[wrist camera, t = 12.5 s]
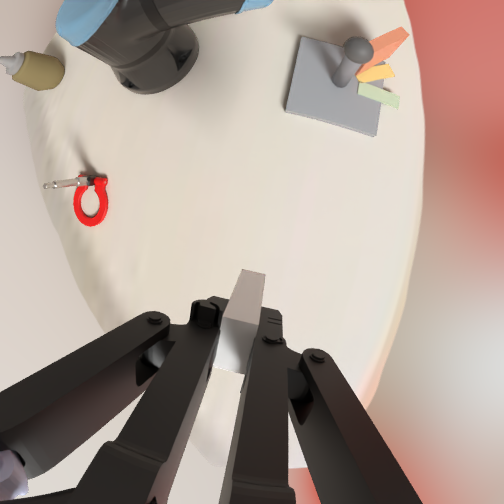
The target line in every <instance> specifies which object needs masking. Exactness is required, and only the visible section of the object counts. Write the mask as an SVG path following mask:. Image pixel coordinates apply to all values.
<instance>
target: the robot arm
mask: <svg viewBox="0 0 504 504" xmlns="http://www.w3.org/2000/svg"><path fill="white" fill-rule="evenodd" d="M272 2H273V0H64V2H63V4H62V6H61V7H60V9H59V12H58V15H57V18H56V30H57V33H58V34H59V35H60V36H61V37H62V38H64V39H65V40H67V41H68V42H69V43H70V44H71V45H72V46H75V47H77V48H79V49H81V50H83V51H85V52H87V53H88V54H90V55H92V56H94V57H96V58H97V59H99V60H101V61H103V62H105V63H106V64H108V65H110V66H111V68H112V70H113V72H114V74H115V76H116V78H117V79H118V81H119V82H120V83H121V84H122V85H123V86H124V87H125V88H127V89H129V90H130V91H132V92H134V93H138V94H154V93H158V92H161V91H164V90H166V89H168V88H170V87H172V86H173V85H175V84H176V83H178V82H179V81H180V80H181V79H182V78H183V77H184V76H186V74H187V73H188V72H189V71H190V70H191V68H192V67H193V65H194V63H195V61H196V59H197V56H198V51H199V44H198V40H197V37H196V36H195V34H194V32H193V31H192V29H191V28H190V27H189V26H188V25H186V24H190V23H193V22H197V21H201V20H205V19H209V18H214V17H218V16H223V15H228V14H233V13H235V14H240V13H242V12H243V11H248V10H253V9H259V8H264V7H266V6H268V5H270V4H271V3H272ZM264 283H265V274H261V273H257V272H252V271H248V270H244V269H242V271H241V273H240V276H239V278H238V280H237V283H236V285H235V288H234V290H233V292H232V295H231V297H230V300H228V299H224V298H220V297H216V296H212V297H210V298H208V299H207V300H196V301H194V302H193V303H192V306H191V313H190V320H189V322H188V323H187V324H185V325H177V324H170V318H169V317H168V316H167V315H165V314H163V313H160V312H157V311H150V312H145V313H142V314H141V315H139V316H137V317H135V318H133V319H132V320H130V321H128V322H126V323H124V324H123V325H121V326H119V327H117V328H115V329H114V330H112V331H110V332H108V333H106V334H104V335H103V336H101V337H100V338H97V339H95V340H94V341H92V342H90V343H88V344H86V345H85V346H83V347H81V348H79V349H77V350H76V351H74V352H72V353H70V354H69V355H67V356H65V357H63V358H61V359H60V360H58V361H56V362H54V363H52V364H50V365H48V366H47V367H45V368H43V369H41V370H40V371H38V372H36V373H34V374H33V375H30V376H29V377H27V378H25V379H23V380H22V381H20V382H18V383H16V384H14V385H12V386H11V387H9V388H7V389H5V390H3V391H1V392H0V504H167V500H168V496H169V493H170V490H171V487H172V484H173V481H174V478H175V476H176V473H177V470H178V467H179V464H180V461H181V458H182V456H183V452H184V450H185V447H186V444H187V441H188V439H189V436H190V433H191V430H192V427H193V424H194V421H195V418H196V416H197V413H198V410H199V407H200V404H201V401H202V398H203V396H204V393H205V390H206V387H207V384H208V381H209V378H210V375H211V372H212V366H213V367H215V368H219V369H223V370H227V371H232V372H236V373H240V374H245V377H244V381H243V384H242V388H241V391H240V393H241V396H240V401H239V406H238V411H237V416H236V422H235V427H234V432H233V437H232V442H231V447H230V451H229V456H228V461H227V466H226V471H225V476H224V481H223V486H222V490H221V495H220V499H219V504H296V498H295V492H294V489H293V488H291V487H289V485H288V412H289V415H290V418H291V421H292V424H293V427H294V429H295V432H296V435H297V438H298V441H299V444H300V446H301V449H302V452H303V455H304V458H305V461H306V463H307V466H308V469H309V472H310V474H311V477H312V480H313V483H314V485H315V488H316V491H317V494H318V496H319V499H320V502H321V504H423V503H422V502H421V500H420V498H419V497H418V495H417V493H416V492H415V490H414V488H413V487H412V485H411V483H410V482H409V480H408V479H407V477H406V475H405V474H404V472H403V470H402V469H401V467H400V465H399V464H398V462H397V461H396V459H395V458H394V456H393V454H392V452H391V451H390V449H389V448H388V446H387V444H386V443H385V441H384V440H383V438H382V436H381V435H380V433H379V432H378V430H377V428H376V427H375V425H374V424H373V422H372V421H371V419H370V417H369V416H368V414H367V412H366V411H365V409H364V408H363V406H362V404H361V403H360V401H359V400H358V398H357V396H356V395H355V393H354V392H353V390H352V389H351V387H350V385H349V384H348V382H347V381H346V379H345V378H344V376H343V374H342V373H341V371H340V370H339V368H338V367H337V365H336V363H335V362H334V360H333V359H332V357H331V356H330V355H329V354H328V353H326V352H324V351H323V350H320V349H314V348H310V349H306V350H304V351H303V353H302V354H300V353H297V352H295V351H293V350H291V349H289V348H288V347H287V346H286V341H285V339H284V338H283V330H282V315H281V313H280V312H279V311H278V310H274V309H270V308H265V307H261V305H262V298H263V290H264ZM213 363H214V364H213ZM145 390H146V391H145ZM144 391H145V392H144ZM143 392H144V394H143V396H142V397H141V399H140V401H139V402H138V404H137V406H136V407H135V409H134V411H133V412H132V414H131V415H130V417H129V419H128V420H127V422H126V424H125V425H124V427H123V429H122V431H121V432H120V434H119V436H118V437H117V438H116V440H115V441H107V442H106V443H104V444H103V445H102V447H101V448H100V449H99V451H98V452H97V454H96V456H95V457H94V459H93V460H92V462H91V464H90V465H89V467H88V469H87V470H86V472H85V474H84V475H83V477H82V478H81V480H80V482H79V483H78V485H77V487H76V488H71V489H67V490H63V491H59V492H54V493H50V494H45V495H40V496H34V497H28V498H21V499H14V498H15V497H16V496H18V495H26V494H27V493H28V479H32V478H35V477H37V476H39V475H41V474H43V473H45V472H47V471H48V470H50V469H51V468H52V467H54V466H55V465H57V464H58V463H59V462H60V461H62V460H63V459H64V458H66V457H67V456H68V455H69V454H70V453H72V452H73V451H74V450H75V449H76V448H78V447H79V446H80V445H81V444H83V443H84V442H85V441H86V440H88V439H89V438H90V437H91V436H93V435H94V434H95V433H96V432H97V431H99V430H100V429H101V428H102V427H103V426H104V425H106V424H107V423H108V422H109V421H110V420H111V419H113V418H114V417H115V416H116V415H117V414H118V413H120V412H121V411H122V410H123V409H124V408H126V407H127V406H128V405H129V404H130V403H131V402H132V401H133V400H135V399H136V398H137V397H138V396H139V395H140V394H142V393H143Z"/></svg>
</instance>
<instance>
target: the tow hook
mask: <svg viewBox="0 0 504 504" xmlns="http://www.w3.org/2000/svg"><path fill="white" fill-rule="evenodd" d="M107 183H108V180H107V178H100V177H97V176H91V175H79V176H78V177H76V178H75V179H66V180H58V181H53V182H52V183H45V184H44V185H43V187H44V189H47V188H53V189H55V188H62V187H69V186H78V188H77V190H76V192H75V195H74V202H73V205H74V211H75V214H76V216H77V218H78V219H79V221H80V222H81V223H82V224H84V225H86V226H90V227H91V226H96V225H98V224H99V223H101V222H102V221H103V220H104V218H105V216H106V213H107V209H108V199H107V195H106V192H105V186H106V185H107ZM93 185H95V192H96V193H97V195H98V197H99V201H100V208H99V211H98V213H97V215H96V216H95V217H93V218H89V217H87V216H86V215H85V214H84V213H83V211H82V208H81V197H82V194H83V193H84V192H85V190H87V189H88V186H93Z"/></svg>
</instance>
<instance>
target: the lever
mask: <svg viewBox="0 0 504 504" xmlns="http://www.w3.org/2000/svg"><path fill="white" fill-rule="evenodd" d="M408 36H409V34H408V33H407V32H406V31H405V30H404V29H403V28H402V27H399V28H397V29H395V30H393V31H390V32H388V33H386V34H384V35H382V36H379V37H377V38H375V39H373V40H371V41H367V40H366V39H364V38H362V37H351V38H349V39H348V40H347V41H346V42H345V44H344V53H345V55H344V57H343V59H342V61H341V63H340V65H339V66H338V68H337V70H336V72H335V74H334V76H333V78H332V81H333V83H334V85H335V86H337V87H339V88H344V87H346V86H347V84H348V83H349V81H350V80H351V79H352V77H353V76H354V74H355V76H357V75H359V74H361V73H362V72H364V71H366V70H367V69H369V68H371V67H373V66H374V65H376V64H378V63H380V62H382V61H383V60H385V59H387V58H389V57H390V56H391V55H392V54H393V52H394V51H395V50H396V49H397V48H398V47H399V46H400V45H401V44H402V43H403V42H404V40H405V39H406V38H407V37H408Z"/></svg>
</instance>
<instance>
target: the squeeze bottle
mask: <svg viewBox="0 0 504 504" xmlns="http://www.w3.org/2000/svg"><path fill="white" fill-rule="evenodd" d="M0 63H1V64H2V65H3V66H5V67H6V73H7V74H9V75H12V79H13V80H14V81H16V82H19V83H21V84H23V85H26V86H28V87H30V88H32V89H35V90H37V91H41V90H48V89H53V88H55V87H56V86H57V85H58V84H59V83H60V81H61V80H62V78H63V75H64V67H63V65H62V64H61V63H60V61H59V60H58V59H57V58H55V57H52V56H49V55H45V54H41V53H36V52H32V51H27V52H25V53H20V52H17V53H15V54H14V55H13V56H1V57H0Z"/></svg>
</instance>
